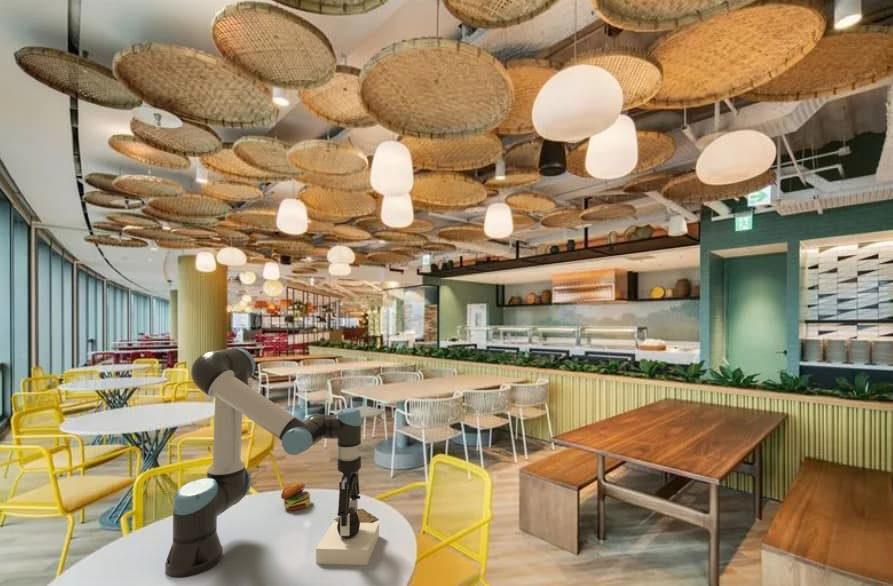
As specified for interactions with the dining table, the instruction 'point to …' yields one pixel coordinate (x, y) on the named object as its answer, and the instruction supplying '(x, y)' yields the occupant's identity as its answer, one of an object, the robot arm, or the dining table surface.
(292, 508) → the cheeseburger
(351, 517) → the mate gourd
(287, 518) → the dining table surface
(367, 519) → the cookie
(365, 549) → the cream square slab
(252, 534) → the dining table surface
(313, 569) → the dining table surface
